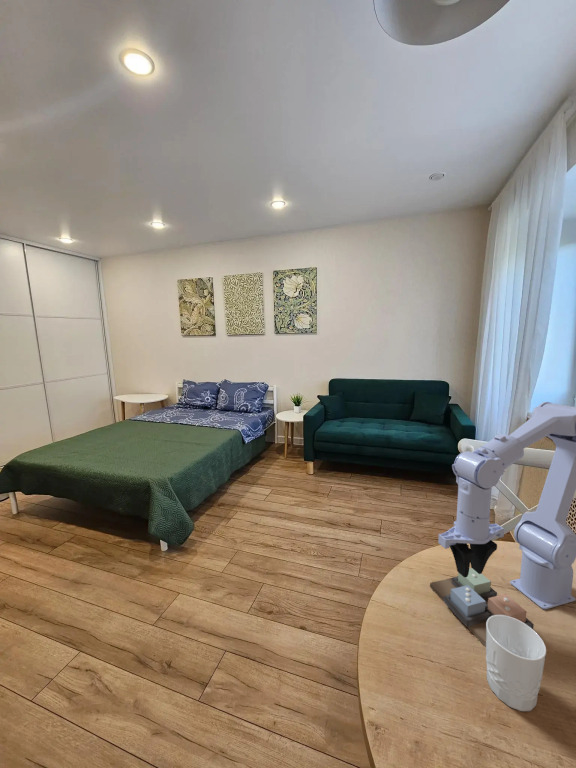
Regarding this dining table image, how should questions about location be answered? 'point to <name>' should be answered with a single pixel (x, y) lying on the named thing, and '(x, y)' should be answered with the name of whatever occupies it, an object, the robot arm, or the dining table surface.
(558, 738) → the dining table surface
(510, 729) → the dining table surface
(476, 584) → the tile one
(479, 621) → the board
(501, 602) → the tile two
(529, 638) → the white cup
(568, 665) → the dining table surface
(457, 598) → the tile three
